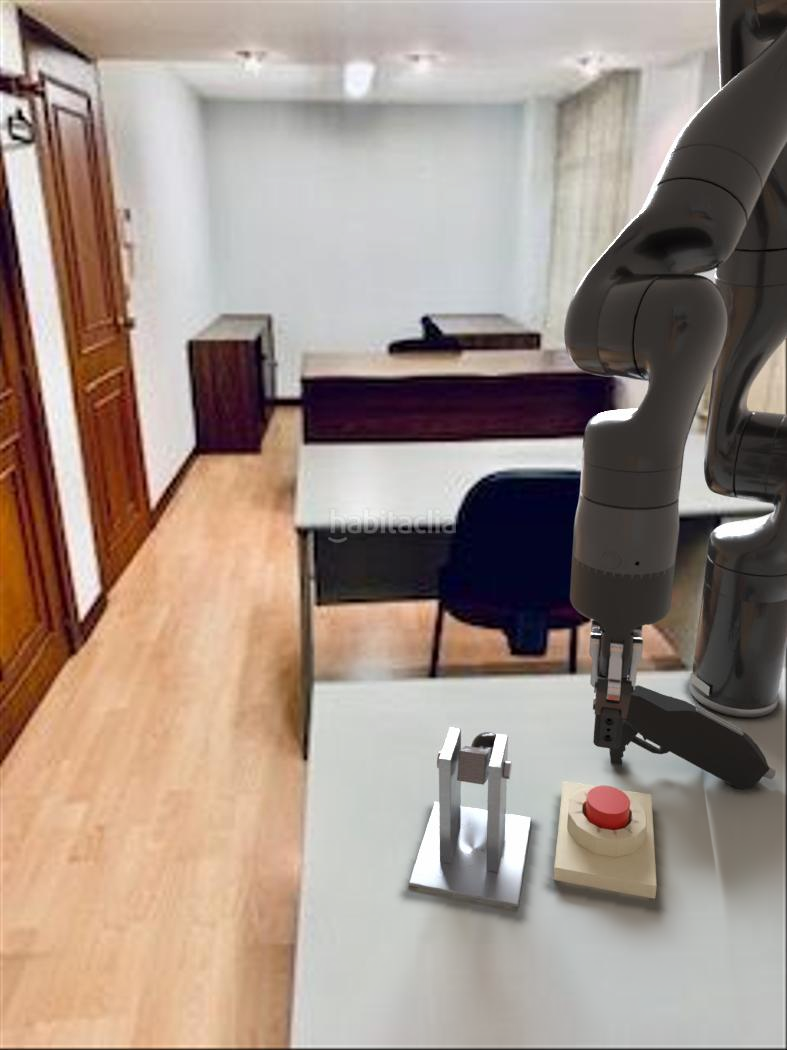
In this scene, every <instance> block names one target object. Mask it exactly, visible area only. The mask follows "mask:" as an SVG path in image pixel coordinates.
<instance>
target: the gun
mask: <svg viewBox="0 0 787 1050" xmlns="http://www.w3.org/2000/svg"><path fill="white" fill-rule="evenodd" d="M638 734H639V735H640V736H641V737H642V738H640V737H638V736H637V735H638ZM648 741H649V742H651V743H653V744H651V743H649V742H648ZM631 743H633V744H634V745H637V746H638V747H641V748H642V749H644V750H646V751H648V752H650V753H652V754H655V755H656V754H657V755H664V754H665V755H666V754H668V753H672V754H674V755H675V756H677V757H679V758H681V759H683V760H685V761H686V762H688V763H690V764H692V765H694V766H696V767H698V768H700V769H701V770H703V771H705V772H707V773H709V774H711V775H713V776H715V778H719V779H720V780H722V781H724V782H725V783H728V784H729V785H731V786H733V787H734V788H737V789H739V790H740V791H741V790H749V789H753V788H754V787H755V786H756V785H757V784H758V783H759V782H760V780H761V779H762V778H765V779H768V780H773V779H775V777H776V775H777V772H776V770H775V769H774V768H773V767H772V766H770V765H769V764H768V761H767V757H765V756H766V755H765V754H764V753H763V752H762V750H761V749H760V747H759V745H758V744H757V743H756V741H754V740H753V738H752V737H750V735H748V733H746V732H744V731H743V729H742V728H740V727H738V726H736V725H735V724H733V723H731V722H729V721H727V720H726V719H724V718H721V717H720V716H718V715H716V714H714V713H712V712H710V711H708V710H707V709H705V708H703V707H701V706H699V705H694V704H692V703H690V702H688V701H686V700H683V699H679V698H676V697H674V696H669V695H666V694H663V693H660V692H658V691H655V690H653V689H649V688H647V687H644V686H641V685H639V684H638V685H635V689H634V691H633V693H631V699H630V704H629V714H627V718H626V719H625V718H624V719H623V730H622V740H621V747H620V748H618V749H610V748H608V749H609V750H608V751H609V759H610V764H618V765H622V764H623V760H622V759H623V758H624V752H626V750H627V749H626V746H629V744H631ZM654 744H655V745H656V746H655V745H654ZM658 746H659V747H658Z"/></svg>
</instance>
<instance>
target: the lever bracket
mask: <svg viewBox="0 0 787 1050" xmlns="http://www.w3.org/2000/svg"><path fill="white" fill-rule="evenodd" d="M495 734H496V738H495V742H494V746H493V750H492V754H491V758H490V762H489V766H488V779H487V809H483V808H477V807H470V806H464V805H462V804H461V803H462V797H461V795H462V791H461V790H462V781H457V773H458V762H459V751H460V750H461V749H462V728H458V727H453V726H452V727H451V726H450V727H449V728H448V731H447V734H446V737H445V739H444V743H443V746H442V749H441V750H439V751H438V753H437V756H436V757H437V758H436V768H437V769H438V801H434V803H433V807H432V810H431V813H430V816H429V819H428V822H427V825H426V828H425V831H424V834H423V837H422V840H421V844H420V847H419V849H418V853H417V856H416V859H415V862H414V865H413V868H412V872H411V874H410V878H409V881H408V886H409V887H412V888H418V889H424V890H428V891H434V892H438V893H443V894H448V895H454V896H459V897H462V898H469V899H474V900H477V901H478V900H479V901H483V902H489V903H493V904H499V905H503V906H507V907H508V906H509V907H514V908H519V904H520V899H521V890H522V883H523V878H524V871H525V864H526V858H527V851H528V844H529V838H530V832H531V831H530V830H531V825H532V817H530V816H523V815H518V814H512V813H507V791H508V790H507V789H508V787H507V784H508V780H510V779H511V775H512V761H510V760H508V759H509V758H508V757H509V755H508V753H509V752H508V751H509V735H507V734H501V733H495Z"/></svg>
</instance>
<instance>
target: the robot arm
mask: <svg viewBox="0 0 787 1050" xmlns="http://www.w3.org/2000/svg"><path fill="white" fill-rule="evenodd" d="M716 16H717V17H716V18H717V20H716V21H717V22H716V23H717V47H718V48H717V49H718V69H719V90H718V91H717V92H716V93H715V94H714V95H712V96H711V97H710V98H709V99H708V101H706V102H705V103H704V104H703V106H701V107H700V108H699V109H698V110H697V112H695V114H694V115H693V116H692V117H690V119H689V121H688V122H687V123H686V124H685V126H684V127H683V128H682V130H681V131H680V133H678V135H677V137H676V139H675V140H674V142H673V144H672V145H671V147H670V149H669V151H668V152H667V154H666V157H665V159H664V161H663V163H662V164H661V167H660V169H659V172H658V173H657V175H656V178H655V180H654V181H653V184H652V186H651V188H650V189H649V192H648V195H647V197H646V199H645V201H644V203H643V206H642V207H641V210H639V212H638V213H637V215H635V216H634V217H633V219H631V221H629V223H628V224H627V225H626V226H625V227H624V228H623V229H622V230H621V232H620V233H619V234H618V236H617V237H616V238H614V240H613V241H612V242H611V244H610V245H609V246H608V247H607V249H606V250H605V251H603V253H602V254H601V255H600V256H599V258H598V259H596V262H595V263H594V264H592V266H591V267H590V269H588V271H587V272H586V274H585V275H584V276H583V278H582V279H581V281H580V282H579V284H578V286H577V288H576V289H575V291H574V293H573V295H572V296H571V300H570V302H569V305H568V307H567V311H566V314H565V319H564V325H563V327H564V328H563V337H564V346H565V349H566V352H567V355H568V357H569V359H570V361H571V362H572V363H573V364H574V365H575V366H576V367H577V369H580V370H581V371H583V372H585V373H587V374H590V375H594V376H600V377H608V378H617V379H627V380H634V381H635V380H636V381H642V382H643V381H644V382H648V386H647V390H646V393H645V395H644V397H643V400H642V401H641V403H640V404H639V406H638V407H637V408H636V407H635V408H624V409H614V410H607V411H604V412H600V413H598V414H596V415H594V416H592V418H590V419H589V420H588V422H587V424H586V426H585V429H584V434H583V438H582V448H581V449H582V451H581V468H580V469H581V471H580V483H579V484H580V485H579V495H578V502H577V507H576V510H575V516H574V522H573V523H574V525H573V538H572V539H573V540H572V553H571V554H572V555H571V570H570V571H571V572H570V587H569V588H570V589H569V601H570V603H571V606H572V607H573V608H574V610H575V611H576V612H578V613H579V614H580V615H582V616H583V617H585V618H587V619H589V620H591V627H590V638H589V651H588V655H589V656H590V658H591V667H590V668H591V669H590V682H589V683H590V685H591V686H592V687H593V693H594V694H595V697H593V700H592V701H593V702H592V710H594V728H593V739H592V740H593V741H592V743H593V745H594V746H596V747H597V748H604V749H609V748H610V749H618V748H620V747H621V740H622V730H623V719H624V718H625V719H626V718H627V714H629V704H630V699H631V693H633V691H634V689H635V686H636V684H637V675H638V665H639V663H640V662H642V659H643V649H644V637H643V626H646V625H647V626H649V625H653V624H656V623H658V622H660V621H661V620H663V619H664V618H666V616H667V615H668V614H669V612H670V611H671V606H672V597H673V587H674V579H675V572H676V571H675V568H676V561H677V552H678V544H679V536H680V512H679V511H680V510H679V506H680V505H679V503H680V493H681V485H682V475H683V466H684V456H685V449H686V444H687V441H688V437H689V434H690V431H691V428H692V425H693V422H694V419H695V416H696V414H697V411H698V408H699V405H700V402H701V401H702V397H703V395H704V392H705V391H706V388H707V385H708V383H709V381H710V378H711V384H710V385H711V386H710V393H709V402H708V403H709V404H708V412H707V419H706V427H705V438H704V448H703V449H704V450H703V462H702V463H703V465H702V466H703V476H704V482H705V485H706V487H707V488H708V489H709V491H711V492H712V493H714V494H717V495H720V496H723V497H728V498H734V499H740V500H747V501H751V502H758V503H764V504H769V505H773V507H774V510H773V511H772V512H770V513H768V514H765V515H763V516H759V517H755V518H750V519H742V520H736V521H730V522H726V523H723V524H720V525H719V526H716V527H715V528H714V529H713V530H712V532H711V533H710V536H709V539H708V545H707V554H706V562H705V563H706V564H705V570H704V571H705V572H704V579H703V586H702V587H703V588H702V595H701V602H700V610H699V616H698V617H699V619H698V626H697V633H696V640H695V641H696V642H695V649H694V656H693V664H692V670H691V671H692V672H690V677H689V692H690V694H691V695H692V697H693V698H694V699H695V700H696V701H698V702H699V703H700V704H701V705H703V706H705V707H706V708H708V709H711V710H712V711H714V712H717V713H720V714H724V715H728V716H732V717H737V718H759V717H763V716H767V715H769V714H770V713H772V712H773V711H775V710H776V708H777V706H778V703H779V701H778V700H779V690H780V685H781V678H782V673H783V669H784V662H785V657H786V650H787V413H776V412H766V411H758V410H757V411H756V410H749V407H748V397H749V393H750V390H751V388H752V386H753V384H754V382H755V380H756V379H757V378H758V376H759V374H760V373H761V371H762V370H763V368H764V366H765V365H766V364H767V363H768V361H769V360H770V358H771V357H773V355H774V354H775V352H776V351H777V349H779V347H780V346H781V345H782V344H783V343H784V341H786V339H787V0H716ZM713 270H714V281H713V280H712V279H710V278H708V277H706V276H704V275H701V274H704V273H705V274H706V273H709V272H711V271H713Z"/></svg>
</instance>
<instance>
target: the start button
mask: <svg viewBox="0 0 787 1050" xmlns="http://www.w3.org/2000/svg"><path fill="white" fill-rule="evenodd" d="M596 786H597V787H594V788H592V789H591V790H590V791H589V792H588V794H587V799H586V817H587V819H588V820H589V821H590V822H591V823H592V824H594V825H595V826H597V827H599V828H603V829H609V830H618V829H622V828H623V827H625V826H626V825H627V823H628V820H629V810H630V800H629V798H628V796H627V795H626V794H625V793H624V792H622V791H621V790H622V789H620V788H617V787H614V786H612V785H611V786H610V785H596Z"/></svg>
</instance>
